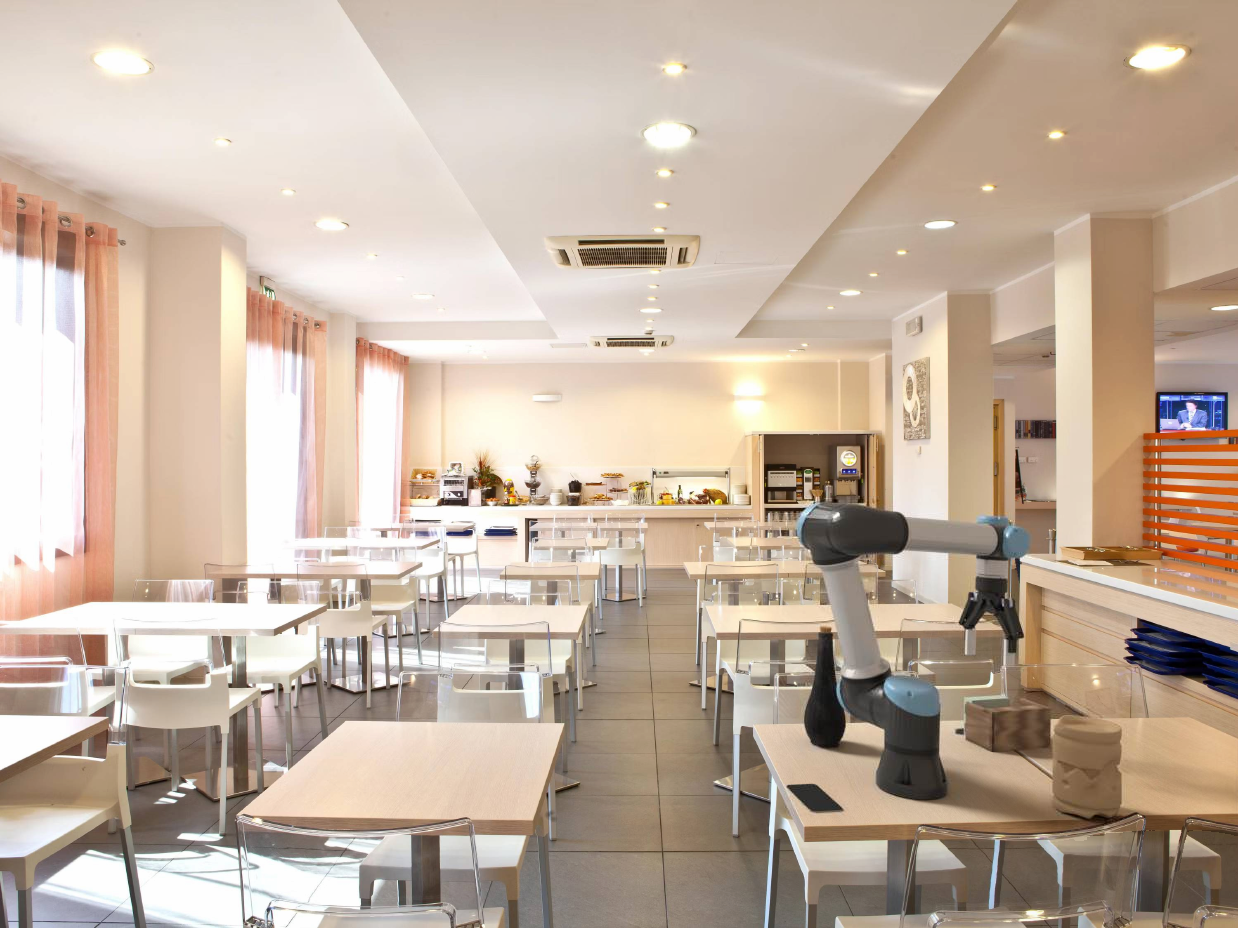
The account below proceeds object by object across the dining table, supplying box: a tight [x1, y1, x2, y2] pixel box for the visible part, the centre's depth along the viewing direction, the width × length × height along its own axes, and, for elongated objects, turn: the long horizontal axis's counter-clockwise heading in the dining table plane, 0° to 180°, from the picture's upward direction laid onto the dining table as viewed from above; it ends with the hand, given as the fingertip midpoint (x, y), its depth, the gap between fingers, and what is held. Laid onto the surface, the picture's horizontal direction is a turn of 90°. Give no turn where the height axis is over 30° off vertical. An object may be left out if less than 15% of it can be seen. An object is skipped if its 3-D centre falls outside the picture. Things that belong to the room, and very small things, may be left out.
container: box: [1051, 714, 1123, 820], centre depth 172 cm, size 13×13×18 cm
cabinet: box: [954, 697, 1052, 752], centre depth 218 cm, size 18×16×10 cm
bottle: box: [803, 626, 847, 749], centre depth 213 cm, size 11×11×30 cm
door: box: [963, 694, 1011, 736], centre depth 223 cm, size 12×3×10 cm, turn 105°
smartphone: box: [785, 783, 844, 814], centre depth 176 cm, size 7×1×15 cm
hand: (988, 660), depth 209 cm, fingers open, 13 cm apart
